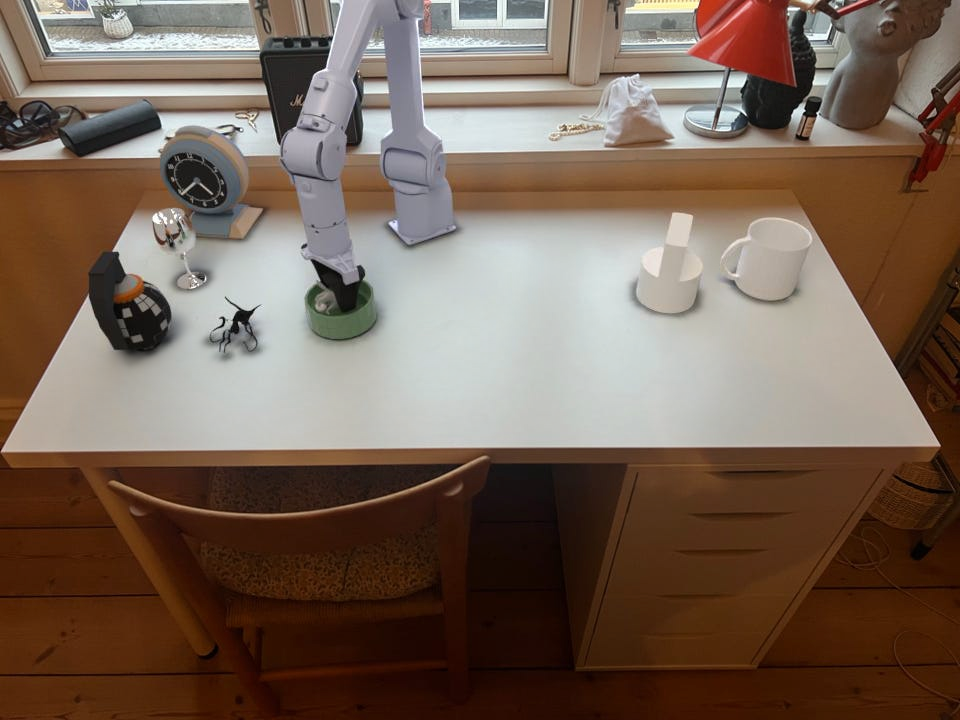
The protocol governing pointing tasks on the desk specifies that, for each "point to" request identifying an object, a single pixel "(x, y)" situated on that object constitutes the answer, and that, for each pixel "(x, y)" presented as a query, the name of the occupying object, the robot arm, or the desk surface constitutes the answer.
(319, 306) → the dog figurine
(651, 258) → the cylinder with rectangular tab
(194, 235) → the wineglass
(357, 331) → the bowl
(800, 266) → the mug
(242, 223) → the alarm clock
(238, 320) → the creature
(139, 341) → the grenade
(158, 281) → the desk surface
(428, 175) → the robot arm
